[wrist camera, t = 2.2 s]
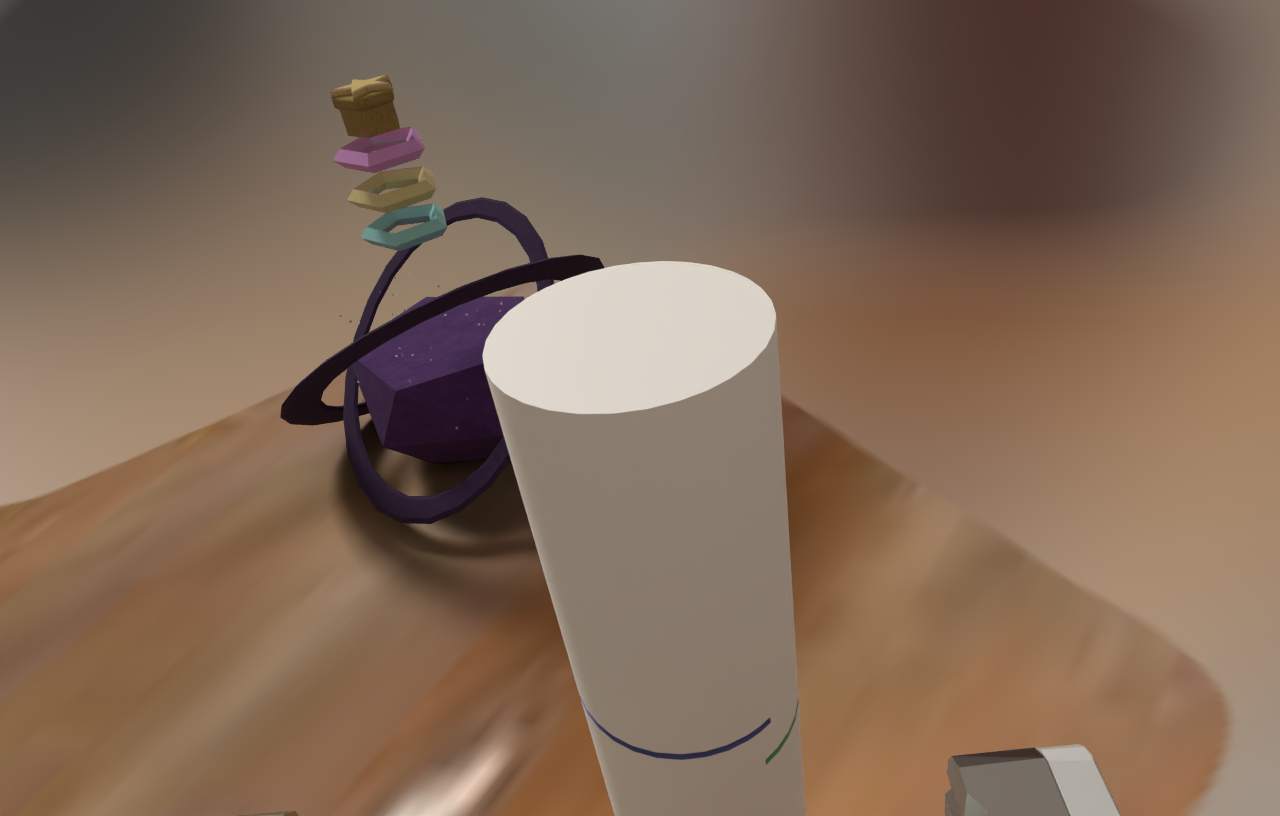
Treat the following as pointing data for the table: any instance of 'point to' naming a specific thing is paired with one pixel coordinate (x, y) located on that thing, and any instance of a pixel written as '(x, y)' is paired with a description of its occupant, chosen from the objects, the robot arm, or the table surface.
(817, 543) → the table surface
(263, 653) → the table surface
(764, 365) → the cylindrical container
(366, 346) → the decorative bottle
